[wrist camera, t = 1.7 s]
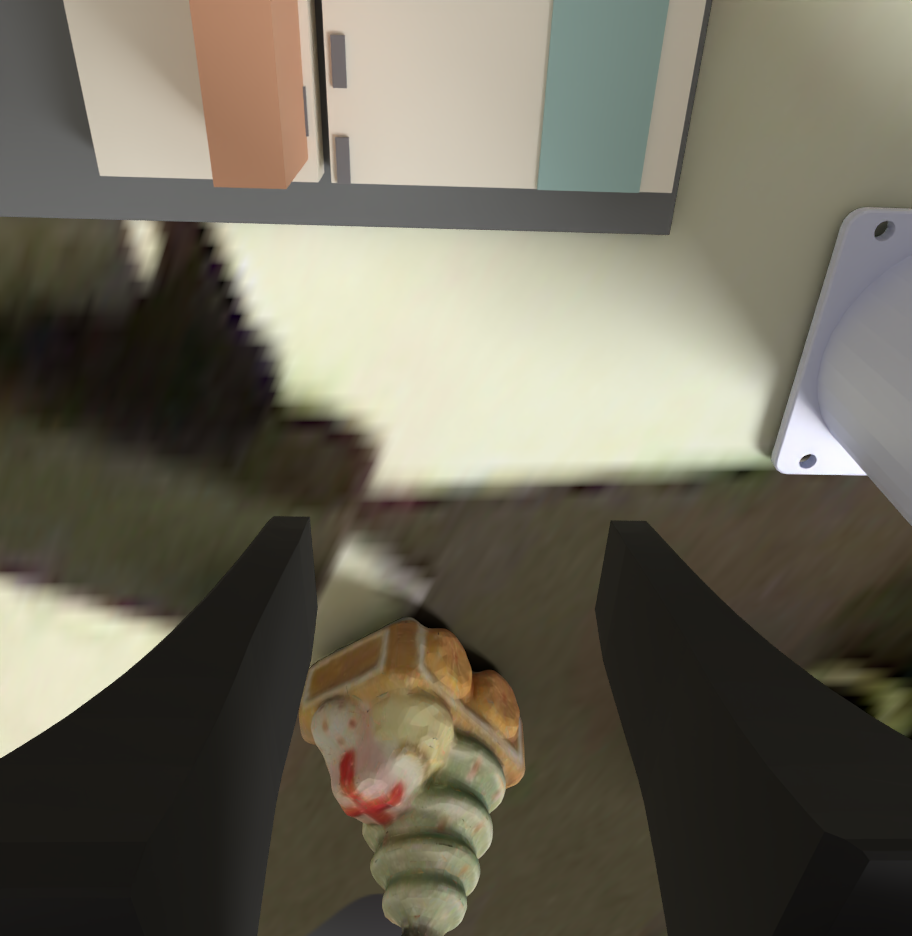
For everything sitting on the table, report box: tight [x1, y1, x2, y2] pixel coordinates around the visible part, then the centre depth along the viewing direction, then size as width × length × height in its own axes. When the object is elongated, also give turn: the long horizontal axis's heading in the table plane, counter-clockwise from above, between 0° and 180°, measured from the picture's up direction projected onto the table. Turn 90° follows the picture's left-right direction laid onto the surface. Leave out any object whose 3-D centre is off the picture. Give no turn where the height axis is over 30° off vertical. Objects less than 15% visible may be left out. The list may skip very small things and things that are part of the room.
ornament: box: [299, 617, 525, 936], centre depth 25 cm, size 8×6×10 cm
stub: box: [63, 0, 324, 189], centre depth 15 cm, size 5×7×4 cm
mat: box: [0, 0, 712, 235], centre depth 17 cm, size 18×10×1 cm, turn 88°
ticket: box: [322, 0, 706, 193], centre depth 16 cm, size 8×7×1 cm
